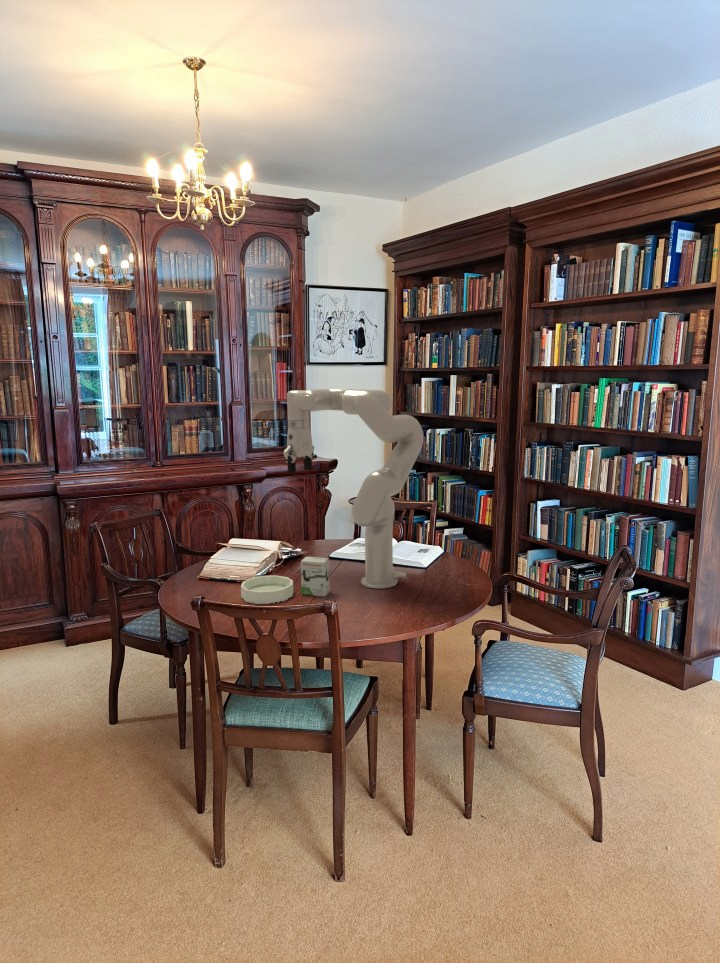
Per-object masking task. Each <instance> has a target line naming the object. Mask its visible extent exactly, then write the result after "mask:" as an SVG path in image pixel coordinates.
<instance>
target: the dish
mask: <svg viewBox="0 0 720 963" xmlns="http://www.w3.org/2000/svg"><path fill="white" fill-rule="evenodd" d="M240 595H241V596H240V597H242V598H243V599H244V600H243V599H242V598H241V599H242V600H243V601H244V602H246V603H251V604H256V605H268V604H270V603H273V604H276V603H275V602H277V603H281V602H285V601H287V600H289V599H290V597H291V598H292V597H293V596H294V580H293V579H291V578H290V577H288V576H281V575H275V574H274V575H259V576H255V577H250V578H248V579H246V580H244V581H242V582H241V585H240ZM288 598H289V599H288ZM280 601H281V602H280ZM270 605H271V604H270Z"/></svg>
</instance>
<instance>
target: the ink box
mask: <svg viewBox="0 0 720 963" xmlns="http://www.w3.org/2000/svg"><path fill="white" fill-rule="evenodd" d="M300 579H301V580H300V582H301V584H300V586H301V592H300V593H301V595H303V594H304V595H305V596H314V597H315V596H317V597H326V596H327V595H328V594H329V593H330V591H331V590H330V587H331V586H330V559H329V558H327V557H318V556H317V557H316V556H305V557H304V558H303V559H301V561H300Z"/></svg>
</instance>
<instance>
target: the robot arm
mask: <svg viewBox="0 0 720 963" xmlns="http://www.w3.org/2000/svg"><path fill="white" fill-rule="evenodd" d="M392 400H393V399H392V397H391V396H390V394H389V393H387V392H386V391H384V390H381V389H380V390H379V389H354V388H353V389H352V388H350V389H349V388H346V389H332V388H330V389H328V388H320V389H317V388H316V389H309V390H307V389H306V390H303V389H302V390H301V389H300V390H298V389H297V390H289V391H287V393H286V403H287V404H286V405H287V435H286V437H287V438H286V448H285V449H284V450H283V456H284V459H285V461H286V463H287V473H288V474H292V475H295V474H296V473H297V464H296V462H295V461H296V459H297V457H298V458H301V457H303V469H304V471H312V470H313V465H312V464H313V463H312V462H313V456H314V455H315V454H314V451H315V445H313V437H312V431H311V428H310V420H309V419H310V418H309V416H310V415H309V412H319V411H342V412H344V413H345V414H347V415H358V416H359V417H360V419H361V420H362V421H363V422H364V424H365V425H366V426H367V427H368V428H369V429H370V431H372V432H373V434H374V435H375V436H376V437H377V438H378V439H379V440H380V441H382V442H384V443H386V444H393V443H397V444H396V445H395V447H393V449H392V450H391V452H390V454H389V455H388V458H387V460H386V462H385V464H384V466H383V467H382V468H380V469H378V470H374V471H371V473H368V475H367V476H366V478H365V479H364V480H363V482H362V484H361V487H360V488H359V490H358V492H357V495H356V497H355V500H354V502H353V504H352V507H351V517H352V520H353V522H354V523H355V524H356V525H358V526H359V527H363V528H365V530H364V555H365V556H364V564H365V568H364V569H365V576H364V577H362V578H361V581H360V582H361V585H362V586H364V587H365V588H369V589H378V590H379V589H389V588H393V587H395V586H396V585H397V584H398V579H407V572H403V571H396V570H394V567H393V566H394V565H393V564H394V562H393V553H394V552H393V551H394V550H393V540H394V537H393V536H394V535H393V530H394V529H393V528H394V517H395V510H396V509H395V508H396V507H395V502H394V501H393V499H392V498H391V497H392V496H393V497H394V496H395V495H397V494H399V493H400V492H402V490H403V487H404V485H405V483H406V481H407V479H408V477H409V475H410V473H411V471H412V469H413V466H414V465H415V463H416V460H417V459H418V456H419V455H420V453H421V451H422V448H423V445H424V432H423V428H422V425H421V424H420V422H419V421H418V419H417V418H415V417H414V416H413V415H409V414H396V415H392V414H391V413H389V411H390V410H391V408H392V406H393V405H392V404H393V401H392Z"/></svg>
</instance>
